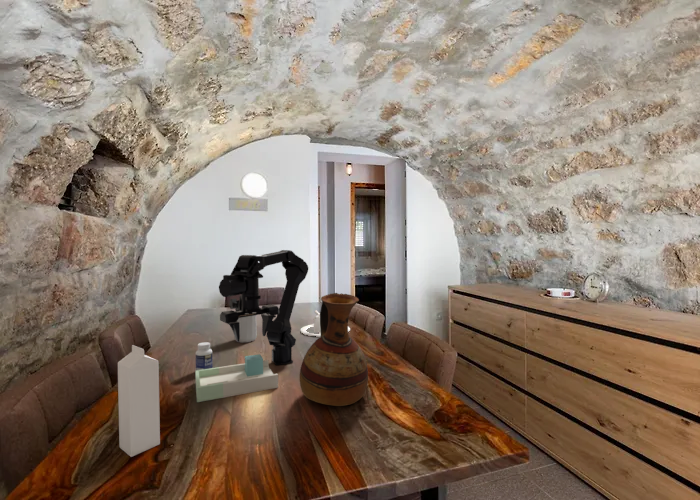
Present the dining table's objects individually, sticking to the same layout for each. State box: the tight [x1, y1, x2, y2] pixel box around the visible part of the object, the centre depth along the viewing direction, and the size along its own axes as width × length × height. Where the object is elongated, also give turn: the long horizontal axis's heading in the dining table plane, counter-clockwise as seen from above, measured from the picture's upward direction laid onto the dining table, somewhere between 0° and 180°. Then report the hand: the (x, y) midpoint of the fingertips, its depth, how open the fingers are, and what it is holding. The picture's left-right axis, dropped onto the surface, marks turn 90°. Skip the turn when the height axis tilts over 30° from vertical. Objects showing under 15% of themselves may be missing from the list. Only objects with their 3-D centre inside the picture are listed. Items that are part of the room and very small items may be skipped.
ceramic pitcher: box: [299, 292, 369, 407], centre depth 101 cm, size 20×20×30 cm
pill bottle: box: [195, 341, 214, 371], centre depth 122 cm, size 5×5×10 cm
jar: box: [233, 310, 257, 344], centre depth 161 cm, size 10×10×18 cm
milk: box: [117, 344, 161, 458], centre depth 77 cm, size 6×6×22 cm
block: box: [244, 353, 264, 376], centre depth 115 cm, size 5×5×5 cm
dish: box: [300, 309, 351, 338], centre depth 177 cm, size 25×25×11 cm
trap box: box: [194, 359, 279, 403], centre depth 110 cm, size 23×15×4 cm, turn 115°
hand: (251, 338), depth 118 cm, fingers open, 9 cm apart
